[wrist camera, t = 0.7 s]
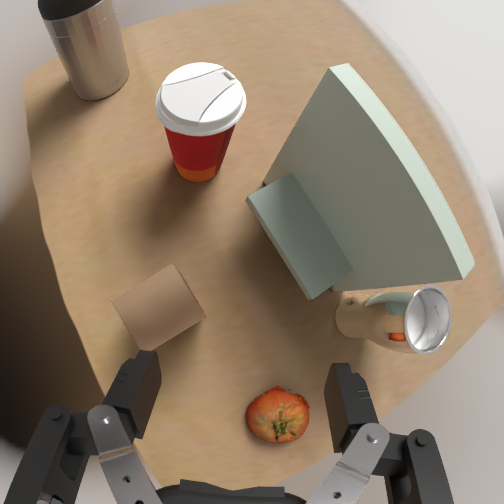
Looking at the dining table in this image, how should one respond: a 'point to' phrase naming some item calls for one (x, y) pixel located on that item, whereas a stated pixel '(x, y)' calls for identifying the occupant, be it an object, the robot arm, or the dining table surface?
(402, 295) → the beer glass
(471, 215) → the dining table surface
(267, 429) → the tomato
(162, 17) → the dining table surface
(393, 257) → the wall board
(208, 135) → the coffee cup
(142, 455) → the dining table surface
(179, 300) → the cabinet
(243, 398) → the dining table surface
